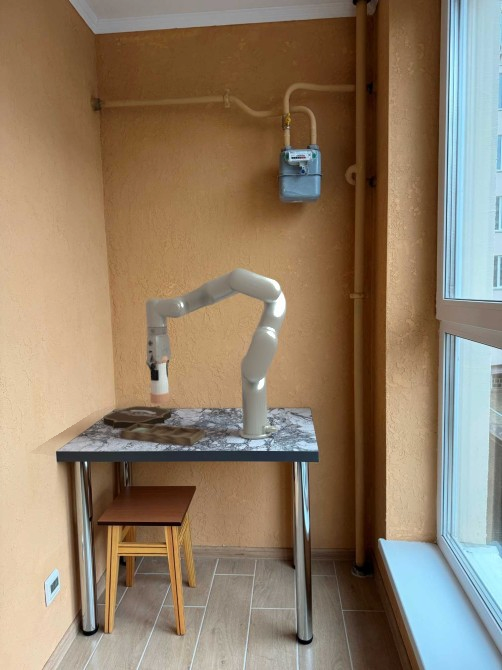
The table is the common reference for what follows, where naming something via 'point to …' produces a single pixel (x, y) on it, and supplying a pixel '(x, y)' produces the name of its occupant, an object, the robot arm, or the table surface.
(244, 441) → the table surface
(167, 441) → the notch ledge
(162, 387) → the pepper shaker
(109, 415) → the decorative plaque
